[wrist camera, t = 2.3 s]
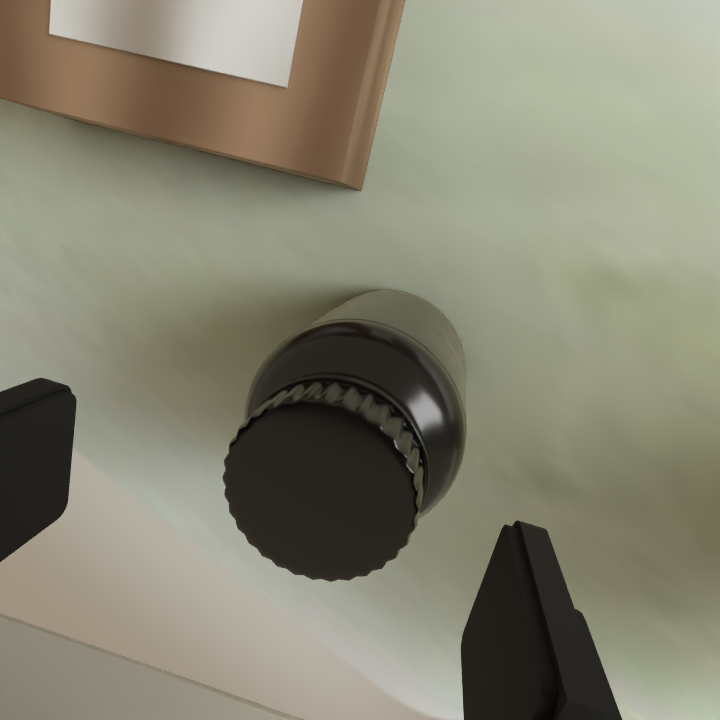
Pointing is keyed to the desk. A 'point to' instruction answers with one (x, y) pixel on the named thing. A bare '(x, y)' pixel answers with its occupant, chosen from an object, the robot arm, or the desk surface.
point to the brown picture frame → (212, 74)
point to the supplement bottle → (349, 436)
